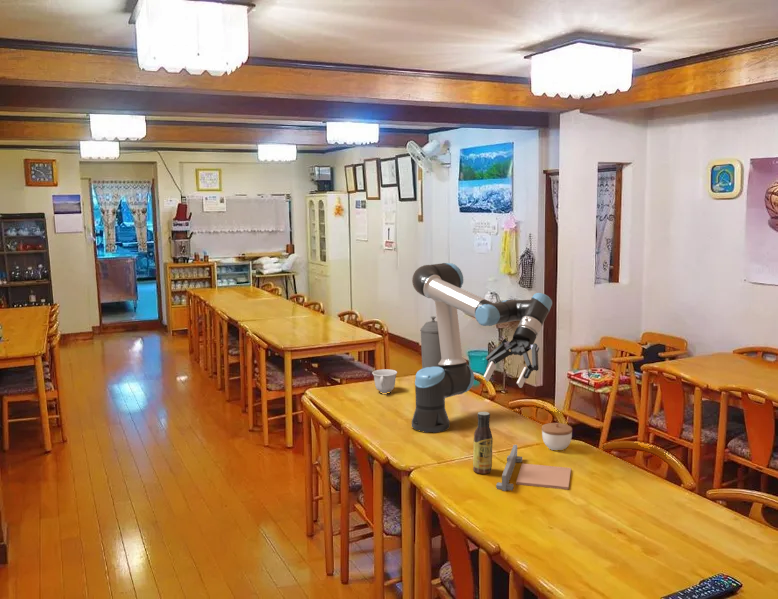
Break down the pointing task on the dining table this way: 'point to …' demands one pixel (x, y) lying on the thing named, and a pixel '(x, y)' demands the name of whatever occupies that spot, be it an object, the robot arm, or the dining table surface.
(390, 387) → the teacup
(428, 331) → the canister
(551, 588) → the dining table surface
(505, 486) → the grey wall
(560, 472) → the terracotta tile
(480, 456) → the sauce bottle
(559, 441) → the lidded jar
